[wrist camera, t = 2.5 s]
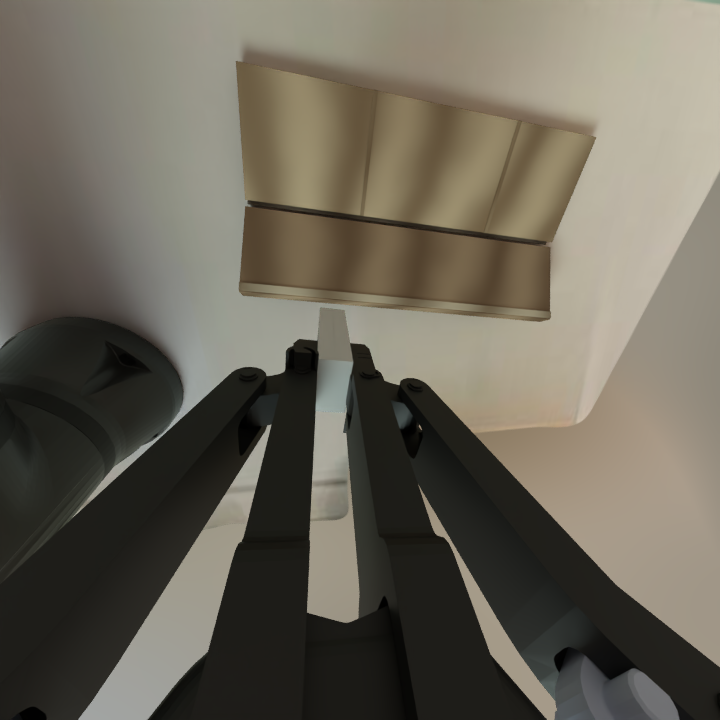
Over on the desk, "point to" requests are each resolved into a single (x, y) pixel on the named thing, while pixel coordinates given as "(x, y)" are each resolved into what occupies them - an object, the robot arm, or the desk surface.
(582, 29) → the desk surface
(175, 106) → the desk surface
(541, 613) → the robot arm
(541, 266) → the click plank
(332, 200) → the laid plank
